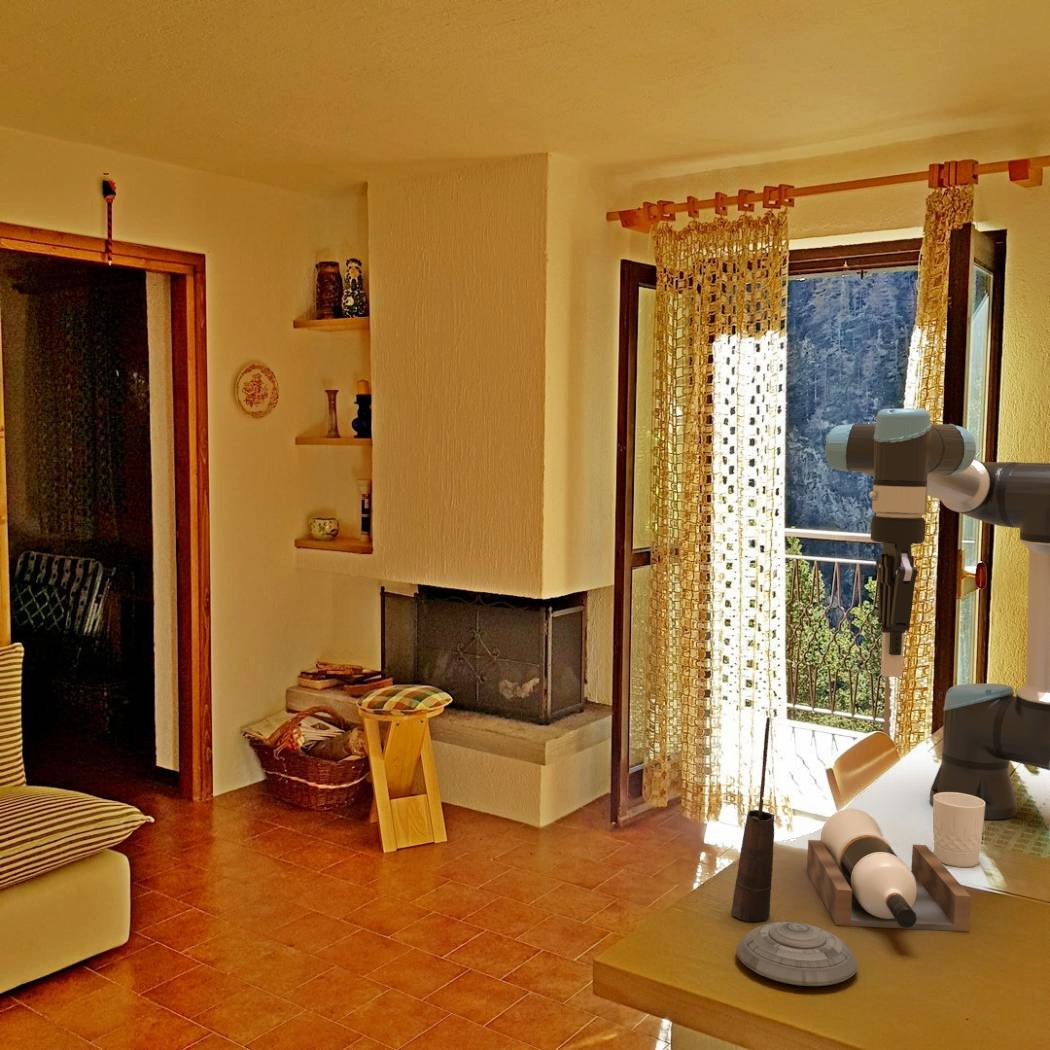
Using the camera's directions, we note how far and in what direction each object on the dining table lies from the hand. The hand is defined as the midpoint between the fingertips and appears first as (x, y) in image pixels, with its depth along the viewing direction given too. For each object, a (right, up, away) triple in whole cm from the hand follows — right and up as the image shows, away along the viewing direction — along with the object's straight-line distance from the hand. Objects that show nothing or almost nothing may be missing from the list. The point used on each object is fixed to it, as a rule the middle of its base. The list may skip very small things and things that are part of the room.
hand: (891, 675), depth 164 cm
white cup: (+16, -32, +17) cm, 40 cm away
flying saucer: (-19, -34, -22) cm, 45 cm away
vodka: (-3, -27, +11) cm, 29 cm away
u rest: (-1, -33, 0) cm, 33 cm away
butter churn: (-22, -33, -8) cm, 41 cm away
